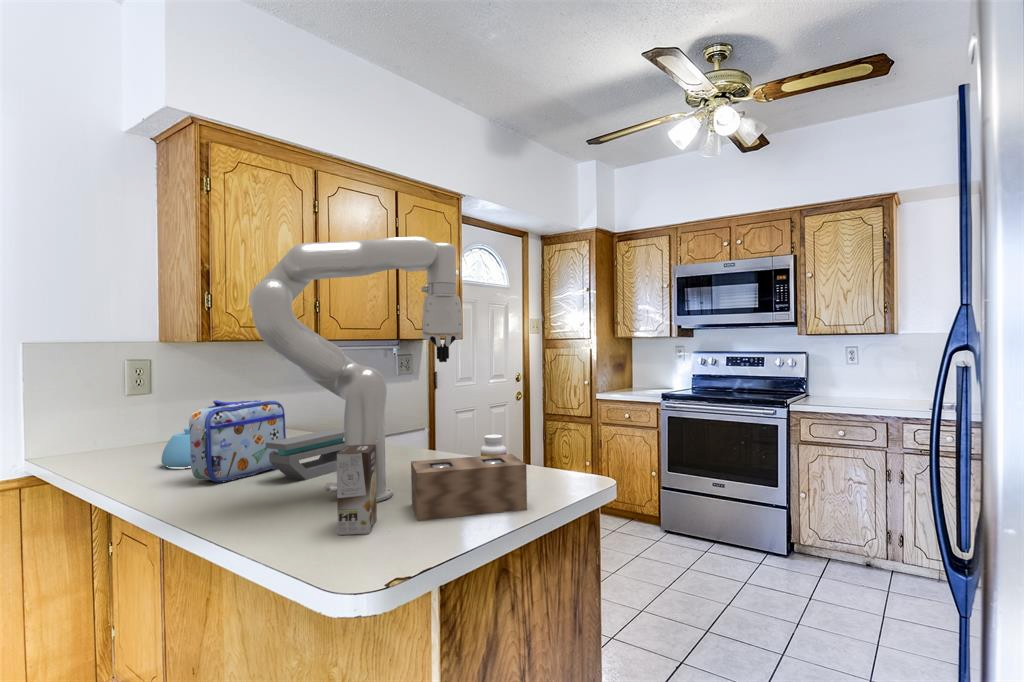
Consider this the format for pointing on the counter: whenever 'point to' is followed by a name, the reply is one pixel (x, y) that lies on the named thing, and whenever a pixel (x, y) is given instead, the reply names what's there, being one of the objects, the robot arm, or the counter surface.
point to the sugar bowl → (177, 451)
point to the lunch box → (234, 438)
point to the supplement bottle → (493, 445)
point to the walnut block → (468, 486)
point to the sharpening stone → (307, 454)
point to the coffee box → (356, 489)
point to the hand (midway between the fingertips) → (442, 361)
